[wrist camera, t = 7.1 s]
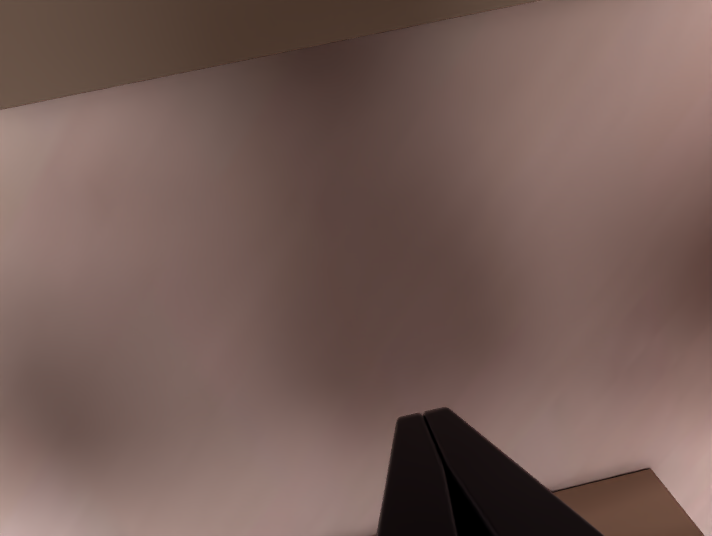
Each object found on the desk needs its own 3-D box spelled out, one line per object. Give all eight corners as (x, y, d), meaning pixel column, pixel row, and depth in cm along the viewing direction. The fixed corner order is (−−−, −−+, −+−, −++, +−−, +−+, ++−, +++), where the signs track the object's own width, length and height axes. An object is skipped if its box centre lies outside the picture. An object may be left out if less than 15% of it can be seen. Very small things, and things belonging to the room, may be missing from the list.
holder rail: (647, 499, 15) (727, 605, 13) (218, 605, 15) (208, 739, 12) (710, -139, 9) (903, -196, 6) (-65, 12, 8) (-226, 22, 6)
